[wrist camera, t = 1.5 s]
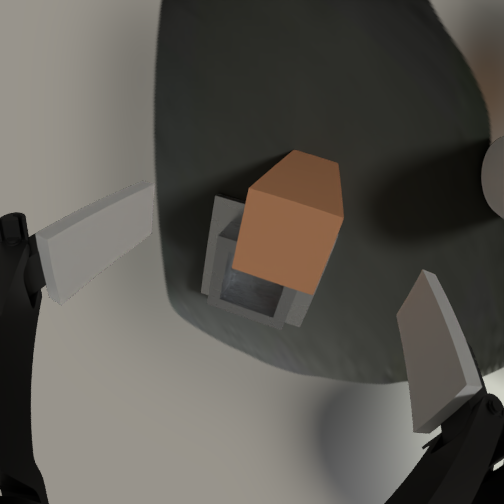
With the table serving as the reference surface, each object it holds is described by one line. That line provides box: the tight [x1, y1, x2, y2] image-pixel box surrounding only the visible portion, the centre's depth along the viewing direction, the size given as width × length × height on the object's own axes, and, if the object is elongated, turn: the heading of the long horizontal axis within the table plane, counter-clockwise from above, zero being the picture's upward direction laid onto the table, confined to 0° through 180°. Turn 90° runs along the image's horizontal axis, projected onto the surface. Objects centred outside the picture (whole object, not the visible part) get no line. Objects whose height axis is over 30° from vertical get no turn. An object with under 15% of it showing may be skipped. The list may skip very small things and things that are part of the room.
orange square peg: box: [232, 150, 344, 295], centre depth 18 cm, size 4×4×14 cm
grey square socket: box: [201, 193, 339, 330], centre depth 27 cm, size 12×12×4 cm
